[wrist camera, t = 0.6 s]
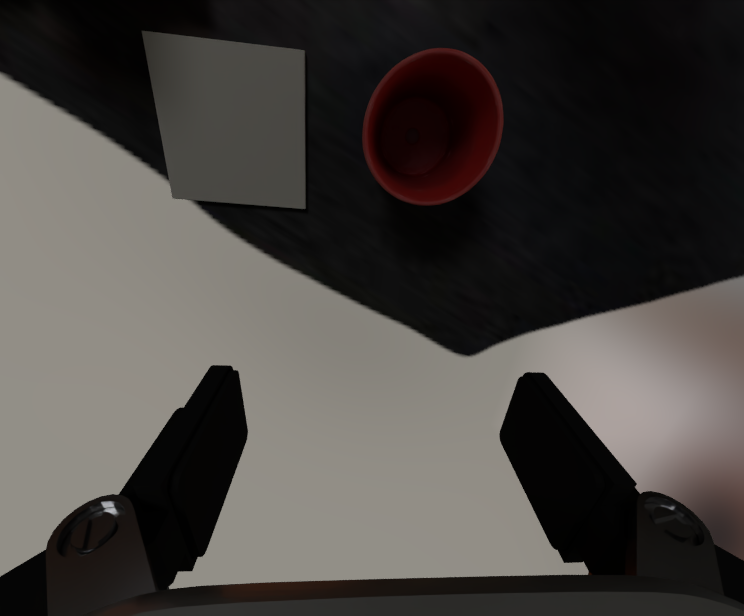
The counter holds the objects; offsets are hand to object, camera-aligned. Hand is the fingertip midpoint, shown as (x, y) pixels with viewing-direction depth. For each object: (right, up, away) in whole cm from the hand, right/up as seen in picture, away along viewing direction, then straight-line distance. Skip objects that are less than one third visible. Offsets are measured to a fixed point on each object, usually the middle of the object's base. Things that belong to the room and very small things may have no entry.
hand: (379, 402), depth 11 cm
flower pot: (+4, +21, +22) cm, 31 cm away
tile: (-14, +21, +21) cm, 33 cm away
